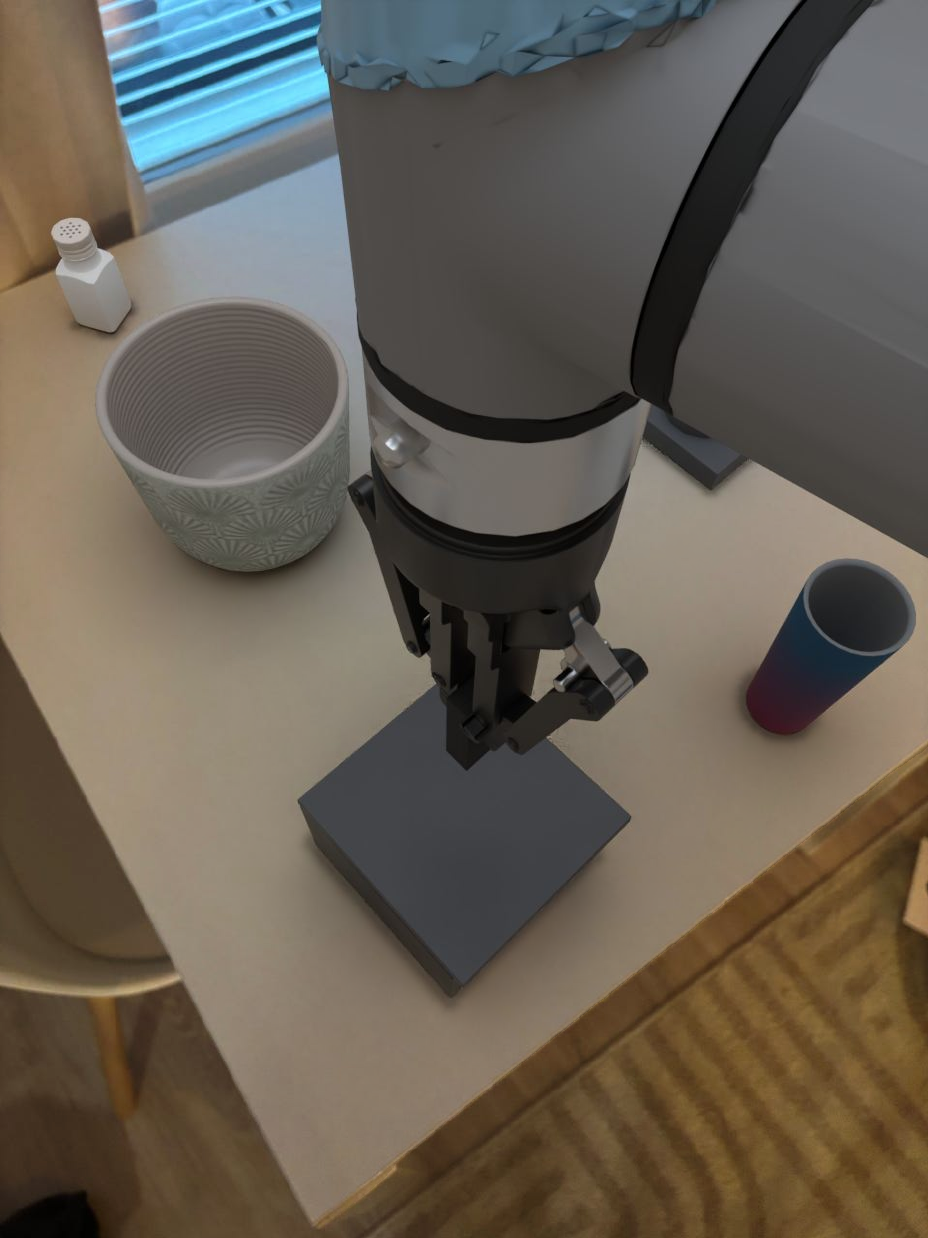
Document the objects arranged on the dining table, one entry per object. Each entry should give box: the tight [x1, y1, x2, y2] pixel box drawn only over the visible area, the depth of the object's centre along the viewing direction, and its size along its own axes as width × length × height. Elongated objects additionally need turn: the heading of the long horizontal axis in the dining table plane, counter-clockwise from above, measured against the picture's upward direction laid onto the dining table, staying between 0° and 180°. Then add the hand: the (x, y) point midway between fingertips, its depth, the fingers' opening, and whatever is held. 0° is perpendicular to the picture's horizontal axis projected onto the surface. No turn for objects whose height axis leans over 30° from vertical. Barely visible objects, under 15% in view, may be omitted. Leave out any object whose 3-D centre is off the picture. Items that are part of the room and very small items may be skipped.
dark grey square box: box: [299, 805, 462, 999], centre depth 61 cm, size 14×14×9 cm
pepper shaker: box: [50, 217, 132, 333], centre depth 83 cm, size 4×4×10 cm
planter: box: [94, 296, 351, 573], centre depth 70 cm, size 17×17×15 cm
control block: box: [642, 404, 749, 491], centre depth 81 cm, size 11×9×4 cm
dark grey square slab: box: [297, 683, 633, 989], centre depth 56 cm, size 14×14×1 cm
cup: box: [745, 557, 917, 736], centre depth 64 cm, size 7×7×15 cm
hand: (475, 743), depth 47 cm, fingers closed
